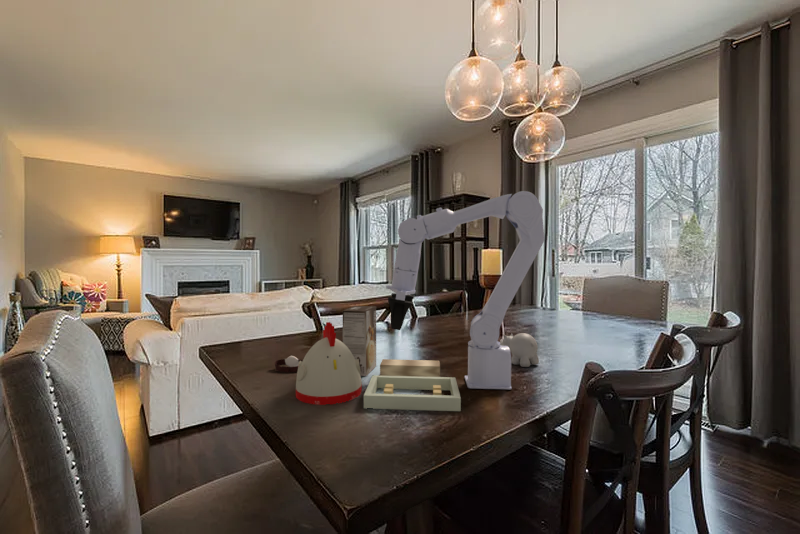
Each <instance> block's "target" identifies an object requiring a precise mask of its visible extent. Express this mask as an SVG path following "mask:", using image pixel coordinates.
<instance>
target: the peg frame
mask: <svg viewBox="0 0 800 534" xmlns="http://www.w3.org/2000/svg"><path fill="white" fill-rule="evenodd" d="M378 388H381V389H382V390H383V393H377V391H378ZM394 390H419V391H422V390H424V391H426V390H427V391H428V390H429V391H432V394H407V393H405V394H404V393H402V394H401V393H394ZM442 391H450V395H448V394H447V395H444V394H442ZM461 403H462V398H461V393H460V390H459V386H458V382H457V379H456V377H454V376H453V377H452V376H450V377H449V376H447V377H446V376H440V377H417V376H380V375H377V374H376V375H372V376H371V378H370V381H369V383H368V385H367V388H366V389H365V392H364V393H363V409H367V408H373V409H372V410H379V409H380V410H403V411H410V410H411V411H435V412H437V411H439V412H461V411H462V410H461V409H462V408H461V406H462V405H461Z"/></svg>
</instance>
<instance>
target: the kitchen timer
mask: <svg viewBox="0 0 800 534" xmlns="http://www.w3.org/2000/svg"><path fill="white" fill-rule="evenodd" d="M322 335H323V338H321V339H320V340H318V341H316V342H315V343H314V344H313V345H312V346H311V347H310V349H309V350H308V351H307V352H306V354H305V355H304V358H303V359H302V360H303V361H299V365H298V371H297V372H296V381H295V398H296V399H297V400H298V401H300V402H302V403H306V404H309V405H317V406H319V405H320V406H323V405H325V406H326V404H330V405H337V404H336V403H338V404H343V403H346V401H347V402H350V401H353V400H355V399H357V398H359V396H360V395H362V389H363V387H362V386H363V385H362V376H360V373H361V371H360V365H359V359H356V360H355V358H354V356H353V355H352V353H351V351H350V350H349V349H348V347H347V346H346V345H345V344H344V343H343V341H341V340H340V339H338V338H337V332H335V325H333V323H331V322H330V321H329V322H328V321H327V322H325V325H324V330H322ZM356 397H357V398H356ZM354 398H355V399H354ZM352 399H353V400H352ZM349 400H350V401H349ZM342 402H343V403H342Z"/></svg>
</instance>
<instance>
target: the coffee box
mask: <svg viewBox="0 0 800 534" xmlns="http://www.w3.org/2000/svg"><path fill="white" fill-rule="evenodd" d="M342 342H343V343H344V344H345V345H346V346H347V347H348V349H349V350H350V351H351V353H352V355H353V356H354V358H355V360H356V359H359V365H360V371H361V373H360V376H361V377H368V375H369V374H370V373H371V372H372V371H373V370H374V369H375V368H376V367H377V306H373V305H371V306H368V305H353V306H350V307H348V308H346V309H344V310H342Z"/></svg>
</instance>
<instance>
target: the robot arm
mask: <svg viewBox="0 0 800 534" xmlns="http://www.w3.org/2000/svg"><path fill="white" fill-rule="evenodd" d="M435 210H436V211H434V212H431V213H428V214H425V215H421V214H418V215H416V218H415V217H414V218H413V217H408V218H406V219H405V220H403V221H402V222H401V223H400V224H399V225H398V229H397V234H398V237H399V239H398V244H397V245H398V246H397V250H396V255H395V259H394V260H395V261H394V267H393V273H392V280H391V285H390V284H387V285H386V287H385V289H387V290H390V291H391V292H393V293H391V296H388V297H387V301H388V302H387V303H388V305H389V309H390V327H391V330H396V331H401V329H402V327H403V324H404V322H405V318H406V315H407V313H408V310H409V309H410V308H411V306H412V305H413V300H414V299H415V296H414V295H415V294H416V291H417V290H416V285H417V281H418V272H419V268H420V261H421V257H422V256H421V255H422V254H421V253H422V252H421V251H422V245H423V244H422V243H423V242H424V241H425V239H426V240H432V239H435V238H439V237H442V236H445V235H448V234H452V233H455V230H456V229H457V227H458V226H459V225H463V224H467V223H470V222H471V223H472V222H473V221H474V222H475V221H477V220H482V219H486V218H489V217H494V218H498V219H502V220H504V218H505V217H506V219H507V220H508V221H509V222H510V224H511V225H513V227H514V228H515V231H516V234H517V237H518V240H519V242H518V244H516V248H514V251H513V253H512V255H511V256H510V259H509V260H508V262H507V264H506V266H505V267H504V270H503V271H502V273H501V276H500V277H499V279H498V281H497V283H496V284H495V286H494V289H493V290H492V293H491V294H490V296H489V297H488V300H487V301H486V303H485V304H484V306H483V307H482V309H481V310H480V312H479V313H478V314H476V315H475V316H474V317H473V318H472V319H471V322H470V328H469V336H470V340H469V341H468V342H467V344H468V345H467V375H464V380H465V384H466V386H467V388H468V389H480V390H481V389H483V390H512V363H511V358H512V352H511V351H510V349H509V347H508V346H502V345H500V341H499V339H500V329H501V325H502V324H503V321H504V319H505V316H506V312H507V311H508V308H509V307H510V306H511V303H512V301H513V299H514V298H515V296H516V294H517V292H518V291H519V289H520V287H521V285H522V283H523V281H524V279H525V278H526V275H527V274H528V272H529V270H530V268H531V267H532V265H533V263H534V261H535V259H536V257H537V256H538V253H539V252H540V250H541V248H542V246H543V244H544V241H545V230H544V220H543V219H544V218H543V215H544V214H543V212H544V209H543V207H542V205H541V203H540V201H539V199H538V198H537V196H536V195H535V194H534V193H532V192H530V191H528V190H527V191H526V190H523V191H522V190H521V191H518V192H516V193H514V194H513V193H508V194H503V195H500V196H496V197H493V198H489V199H488V200H484V201H481V202H478V203H476V204H473V205H471V206H470V205H469V206H467V207H464V208H461V209H459V210H456V211H453V210H451V209H449V208H444V209H443V208H442V207H437V208H436V209H435Z"/></svg>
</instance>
